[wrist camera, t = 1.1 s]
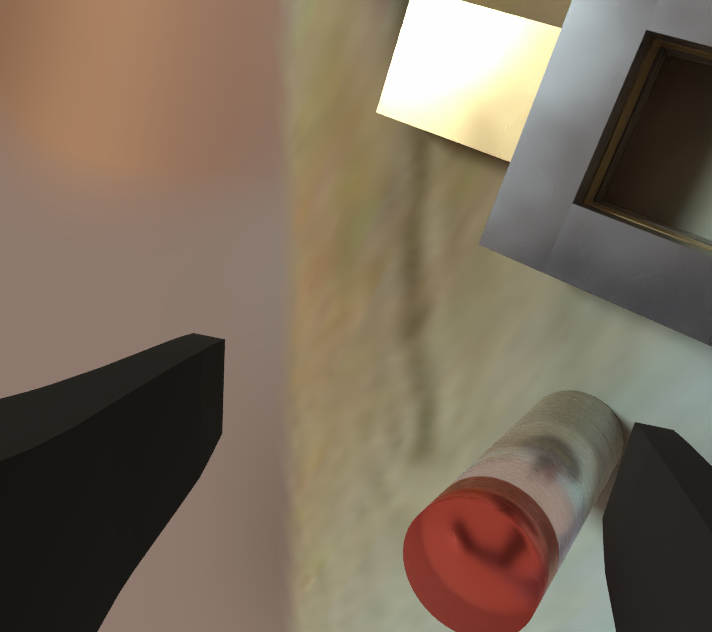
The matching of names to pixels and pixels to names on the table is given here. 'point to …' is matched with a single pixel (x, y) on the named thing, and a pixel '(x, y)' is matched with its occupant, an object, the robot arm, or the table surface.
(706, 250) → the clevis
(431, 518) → the clear red-capped cylinder
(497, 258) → the table surface
